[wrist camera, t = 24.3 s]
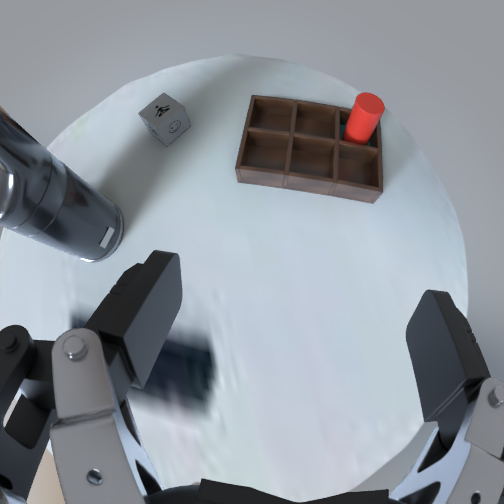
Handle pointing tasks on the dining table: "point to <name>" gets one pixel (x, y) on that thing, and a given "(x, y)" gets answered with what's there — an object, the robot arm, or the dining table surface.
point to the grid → (307, 150)
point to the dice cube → (165, 118)
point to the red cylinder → (363, 118)
